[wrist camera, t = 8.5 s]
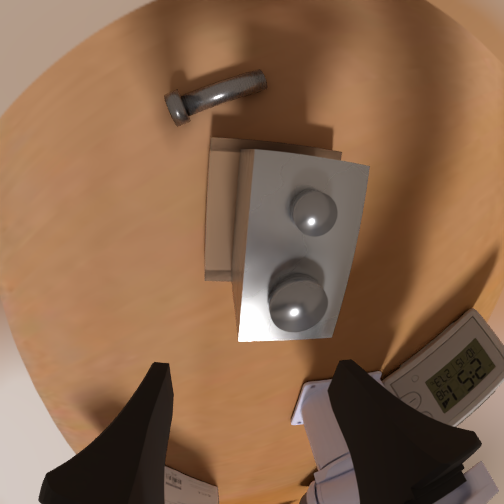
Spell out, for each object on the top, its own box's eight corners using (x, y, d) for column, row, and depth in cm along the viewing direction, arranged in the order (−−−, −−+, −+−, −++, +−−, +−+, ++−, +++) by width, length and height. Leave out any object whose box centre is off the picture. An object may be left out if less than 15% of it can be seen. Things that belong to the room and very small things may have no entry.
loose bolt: (254, 67, 14) (259, 56, 12) (267, 96, 15) (273, 89, 13) (168, 98, 14) (161, 91, 12) (180, 128, 15) (174, 124, 13)
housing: (314, 157, 15) (379, 167, 9) (297, 277, 18) (336, 346, 12) (240, 149, 15) (257, 149, 8) (231, 276, 18) (239, 351, 11)
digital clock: (474, 299, 25) (527, 344, 15) (466, 344, 28) (506, 387, 18) (373, 365, 26) (417, 438, 16) (377, 402, 29) (409, 461, 19)
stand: (332, 151, 17) (341, 152, 15) (314, 273, 20) (320, 282, 19) (211, 138, 16) (210, 137, 14) (205, 270, 19) (204, 280, 18)
